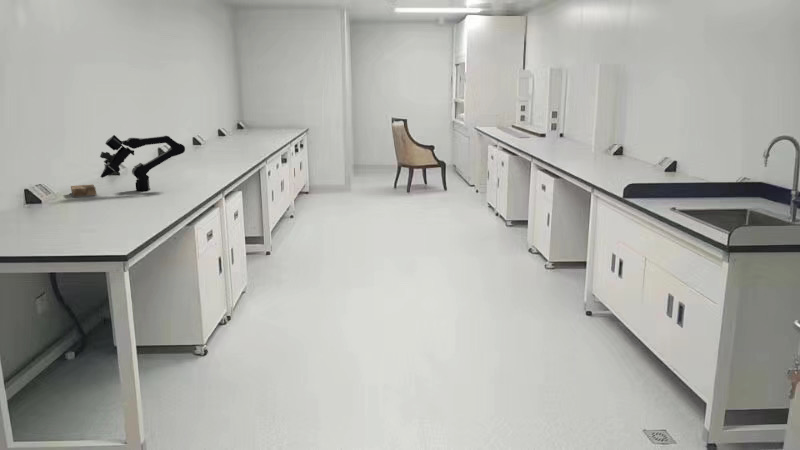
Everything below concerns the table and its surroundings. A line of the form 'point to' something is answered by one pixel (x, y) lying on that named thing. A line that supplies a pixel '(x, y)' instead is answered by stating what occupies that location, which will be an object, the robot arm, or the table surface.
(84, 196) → the mat
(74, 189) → the walnut block
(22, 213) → the table surface
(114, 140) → the robot arm
